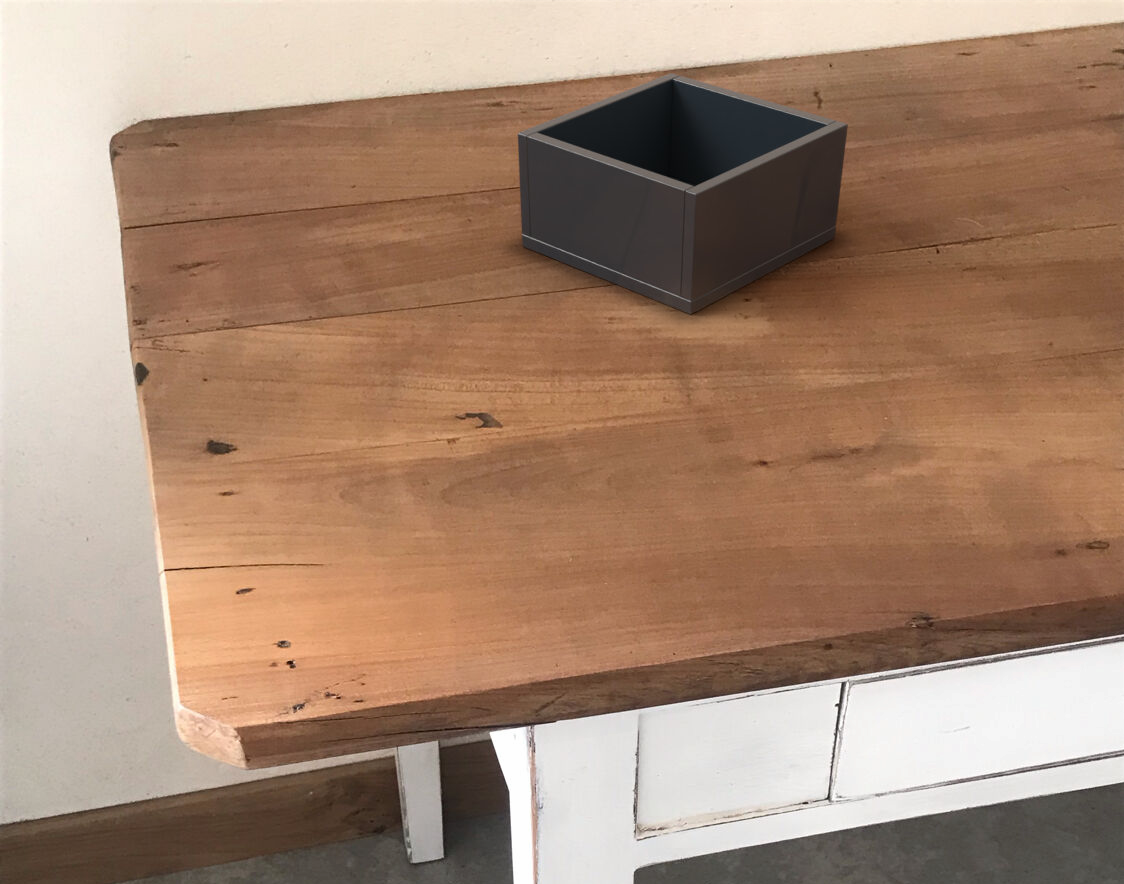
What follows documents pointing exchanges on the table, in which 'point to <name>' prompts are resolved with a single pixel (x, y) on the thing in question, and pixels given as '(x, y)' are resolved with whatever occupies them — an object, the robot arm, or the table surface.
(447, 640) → the table surface
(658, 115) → the dark grey open box
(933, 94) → the table surface
